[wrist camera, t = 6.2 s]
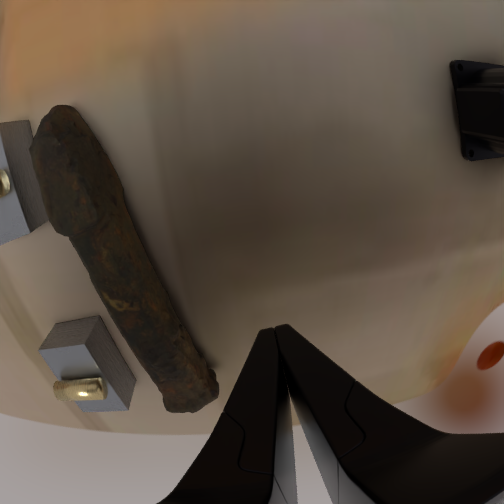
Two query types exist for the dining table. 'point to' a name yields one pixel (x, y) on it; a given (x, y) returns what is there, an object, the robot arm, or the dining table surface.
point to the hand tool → (116, 257)
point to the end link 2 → (88, 366)
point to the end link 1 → (18, 183)
